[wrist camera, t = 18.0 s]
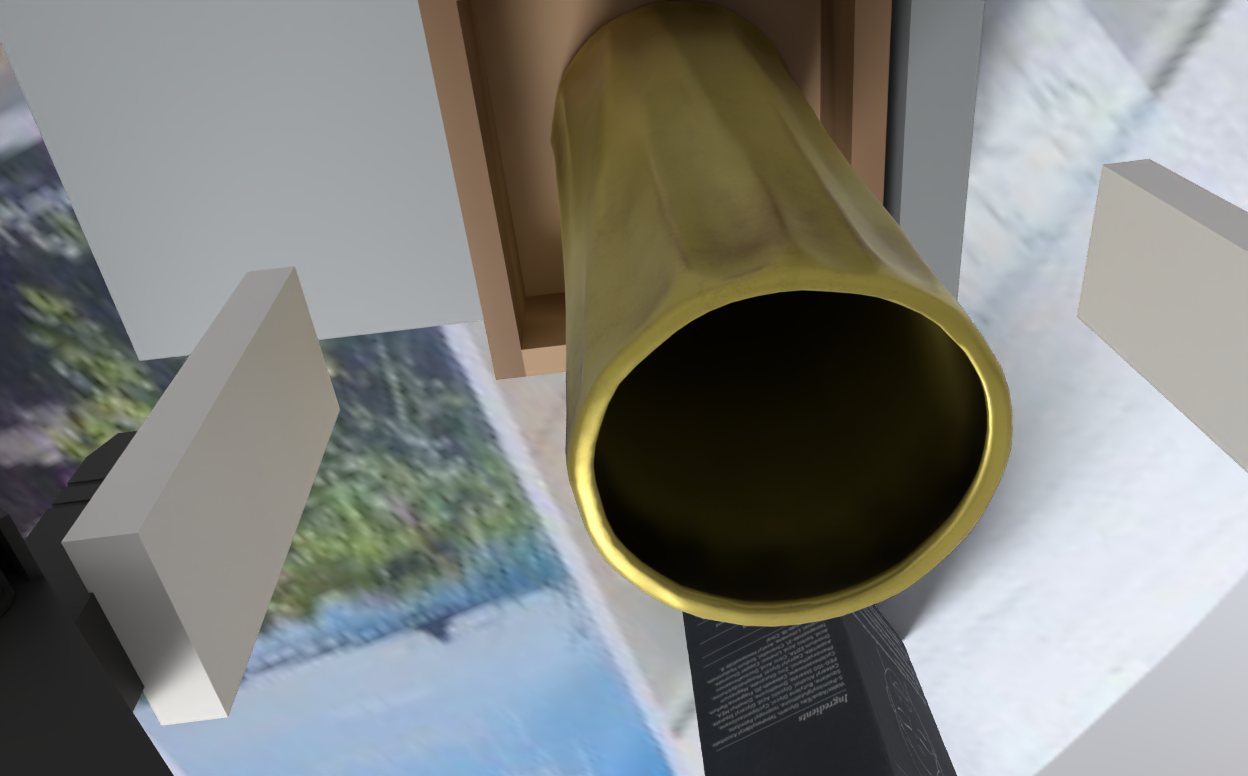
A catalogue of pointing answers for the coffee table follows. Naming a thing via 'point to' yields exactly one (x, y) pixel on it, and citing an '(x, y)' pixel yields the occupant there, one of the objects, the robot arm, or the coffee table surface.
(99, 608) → the robot arm
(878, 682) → the box
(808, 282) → the vase
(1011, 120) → the coffee table surface
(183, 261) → the board
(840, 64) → the wooden tray
